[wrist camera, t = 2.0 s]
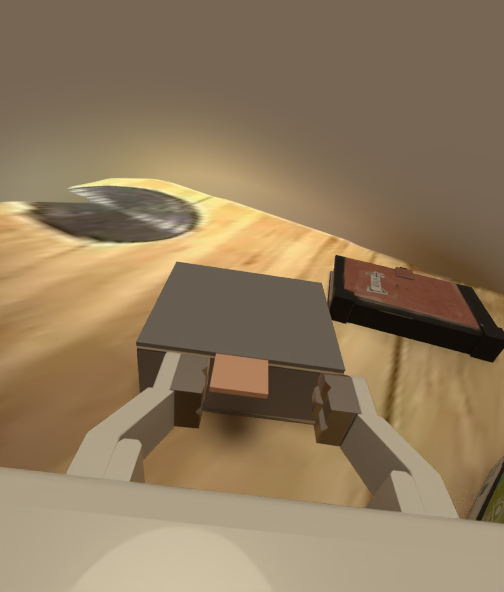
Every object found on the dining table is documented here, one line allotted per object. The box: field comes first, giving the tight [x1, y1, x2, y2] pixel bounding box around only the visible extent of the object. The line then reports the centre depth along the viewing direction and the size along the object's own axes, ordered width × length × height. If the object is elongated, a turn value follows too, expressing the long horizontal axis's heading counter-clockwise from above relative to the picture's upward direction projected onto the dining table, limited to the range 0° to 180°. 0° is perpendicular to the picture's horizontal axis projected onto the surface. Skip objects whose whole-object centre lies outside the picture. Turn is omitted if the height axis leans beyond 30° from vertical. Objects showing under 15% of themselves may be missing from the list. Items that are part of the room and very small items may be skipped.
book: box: [327, 255, 504, 363], centre depth 57 cm, size 26×18×5 cm
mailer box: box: [137, 348, 321, 425], centre depth 40 cm, size 20×16×8 cm
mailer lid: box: [136, 262, 345, 399], centre depth 36 cm, size 20×20×1 cm
